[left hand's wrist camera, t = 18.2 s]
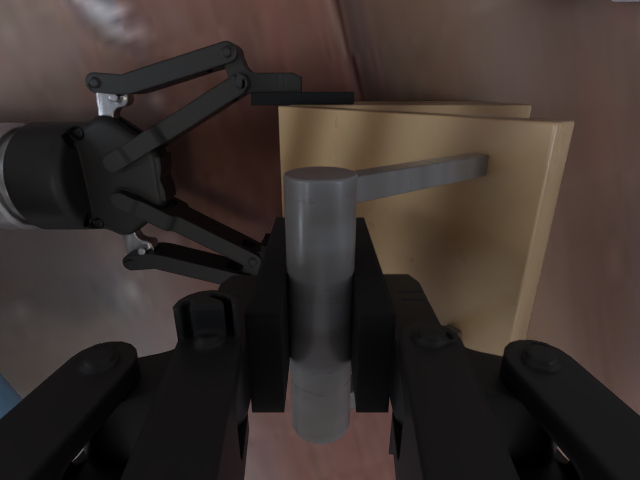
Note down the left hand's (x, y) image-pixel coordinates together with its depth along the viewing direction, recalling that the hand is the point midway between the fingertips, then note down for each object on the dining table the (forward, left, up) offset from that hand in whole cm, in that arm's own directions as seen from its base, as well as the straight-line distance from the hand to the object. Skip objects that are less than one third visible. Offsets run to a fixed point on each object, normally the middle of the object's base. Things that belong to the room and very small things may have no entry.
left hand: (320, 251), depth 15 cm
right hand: (-2, 0, -14) cm, 14 cm away
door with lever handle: (-3, 0, -5) cm, 6 cm away
